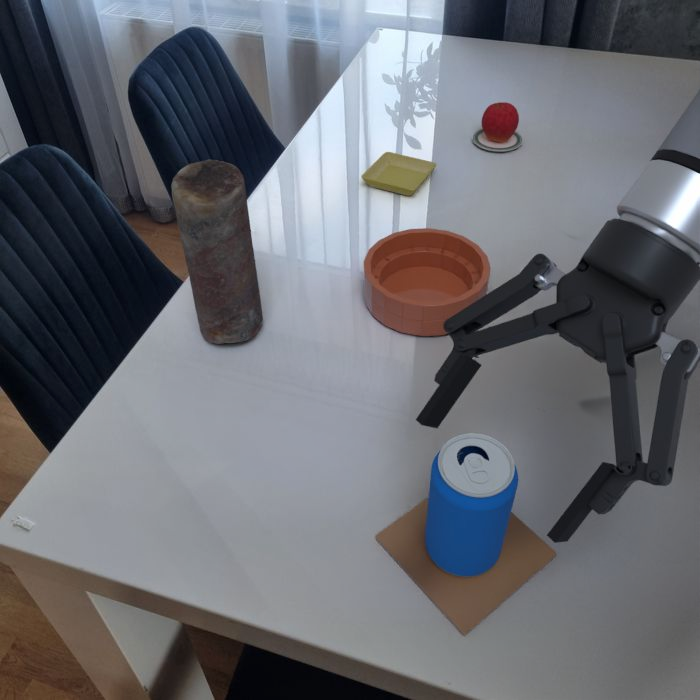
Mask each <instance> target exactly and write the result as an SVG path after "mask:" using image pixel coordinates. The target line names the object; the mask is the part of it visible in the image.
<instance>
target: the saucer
mask: <svg viewBox="0 0 700 700" xmlns="http://www.w3.org/2000/svg"><path fill="white" fill-rule="evenodd" d="M437 166H438V164H437V163H436V162H434V161H430V160H426V159H421V158H417V157H413V156H409V155H404V154H400V153H396V152H393V151H386V152H384V153H382V154H381V155H380V156H379V158H378V159H377V160H376V161H375V162H374V163H373V164H372V165H371V166H370V167H369V168H368V169H366V171H365V172H364V173H363V174H361V176H360V178H361V179H362V180H363V181H364V182H365V183H366V184H367V185H369V186H370V187H371V188H372V187H373V188H375V189H379V190H384V191H388V192H392V193H396V194H399V195H403V196H407V197H409V196H411V195H413V194H414V193H415V192H416V190H418V188H419V187H420V186H421V185H422V184H423V182H424V181H425V180H426V179H427V178H428V176H429V175H430V174H431V173H432V172H433V171H434V170H435V168H436V167H437Z"/></svg>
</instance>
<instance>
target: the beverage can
mask: <svg viewBox="0 0 700 700" xmlns="http://www.w3.org/2000/svg"><path fill="white" fill-rule="evenodd" d="M429 479H430V480H429V486H428V487H429V488H428V497H429V498H428V497H427V498H428V509H427V519H426V530H425V545H426V549H427V552H428V554H429V556H430V557H431V559H432V560H433V561H434V562H435V564H436V565H438V566H439V567H440V568H441V569H443V570H444V571H446V572H448V573H451V574H453V575H457V576H463V577H470V576H476V575H480V574H482V573H485V572H486V571H488V570H489V569H491V568H492V567H493V566H494V565H495V563H496V562H497V560H498V558H499V556H500V553H501V549H502V545H503V541H504V537H505V533H506V529H507V526H508V522H509V518H510V514H511V512H512V509H513V506H514V501H515V497H516V495H517V489H518V485H519V473H518V469H517V465H516V464H515V460H514V457H513V456H512V454H511V452H510V451H509V449H508V448H507V447H506V446H505V444H503V443H502V442H500V441H499V440H497V439H495V438H494V437H492V436H489V435H486V434H483V433H477V432H476V433H475V432H469V433H462V434H459V435H455V436H454V437H452V438H450V439H449V440H447V441H446V442H445V443H444V444H443V445H442V447H441V448H440V450H438V452H437V453H436V455H435V456H434V457H433V460H432V463H431V468H430V478H429Z"/></svg>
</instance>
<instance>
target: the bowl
mask: <svg viewBox="0 0 700 700" xmlns="http://www.w3.org/2000/svg"><path fill="white" fill-rule="evenodd" d="M488 257H489V256H487V254H486V253H485V251H484V250H483V248H481V246H480V245H479V244H477V243H475V242H474V241H472V240H471V239H469V238H467V237H466V236H464V235H462V234H459V233H455V232H454V231H450V230H445V229H439V228H430V227H425V228H424V227H423V228H408V229H405V230H400V231H396V232H393V233H391V234H389V235H387V236H384V237H383V238H380V239H379V240H377V241H376V242H375V243H374V244H373V245H372V246H371V247H370V248H369V249H368V251H367V253H366V255H365V257H364V260H363V295H364V303H365V305H366V307H367V309H368V311H369V312H370V314H371V315H372V317H374V318H375V319H376V320H377V321H378V322H379V323H381V324H382V325H383V326H385V327H388V328H390V329H392V330H395V331H397V332H399V333H402V334H408V335H413V336H419V337H433V336H434V337H437V336H444V335H449V334H448V333H447V332H446V331H445V330H444V328H443V325H444V322H445V321H446V320H447V319H449V318H450V317H452V316H453V315H455V314H457V313H458V312H460V311H461V310H463V309H464V308H466V307H468V306H469V305H471V304H472V303H474V302H476V301H477V300H479V299H480V298H482V297H483V296H485V295H487V294H488V290H489V289H488V288H489V281H490V275H491V264H490V261H489V258H488Z"/></svg>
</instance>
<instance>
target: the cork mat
mask: <svg viewBox="0 0 700 700" xmlns="http://www.w3.org/2000/svg"><path fill="white" fill-rule="evenodd" d="M428 498H429V496H428V497H426V498H425V499H424V500H422V501H421V502H420V503H419V504H417V505H416V506H414V507H413V508H411V510H409V511H407V512H406V513H405V514H404V515H402V516H401V517H399V518H398V519H396V520H395V521H394V522H392V524H390V525H388V526H387V527H386V528H384V529H383V530H382V531H380V532H379V533H377V534H376V535H375V540H376V541H377V543H378V544H379V545H380V546H381V547H382V548H383V549H384V551H385V552H386V553H388V555H389V556H390V557H391V559H393V560H394V561H395V563H396V564H397V565H398V566H399V567H400V569H402V570H403V571H404V573H406V575H407V576H408V577H409V578H410V579H411V580H412V581H413V582H414V584H415V585H416V586H417V587H418V588H419V589H420V590H421V591H422V592H423V593H424V595H425V596H427V598H428V599H429V600H430V601H431V602H432V603H433V605H435V607H436V608H437V609H438V610H439V611H440V612H441V613H442V615H444V616H445V618H446V619H447V620H448V621H449V622H450V623H451V624H452V625H453V626H454V627H455V629H456V630H457V631H458V632H459V633H460V634H461V635H462V636H463V637H466V636H467V635H468V634H469V633H470V632H471V631H473V629H475V628H476V627H477V626H478V625H479V624H481V623H482V622H483V621H484V620H485V619H486V618H487V617H489V616H490V615H491V614H492V613H493V612H494V611H495V610H497V608H500V606H501V605H502V604H503V603H505V602H506V601H507V600H509V598H510V597H511V596H513V595H514V594H515V593H516V592H517V591H518V590H519V589H521V588H522V587H523V586H524V585H525V584H526V583H528V582H529V581H530V580H531V579H532V578H533V577H534V576H535V575H537V574H538V573H539V572H540V571H542V569H544V568H545V567H546V566H547V565H548V564H549V563H551V562H552V561H553V560H554V559H555V558H556V557H557V554H558V553H557V551H555V549H553V548H552V547H551V546H550V545H549V544H548V543H547V542H545V541H544V540H543V539H542V538H541V537H540V536H539V535H537V533H536V532H534V531H533V529H531V528H530V527H528V525H527V524H526V523H524V521H522V519H520V518H519V517H518V516H517V515H516V514H515V513H513V512H512V511H511V514H510V518H509V522H508V526H507V529H506V533H505V537H504V541H503V545H502V549H501V553H500V556H499V558H498V560H497V562H496V563H495V565H494V566H493V567H492V568H491V569H489V570H488V571H486V572H485V573H482V574H480V575H476V576H470V577H463V576H457V575H453V574H451V573H448V572H446V571H444V570H443V569H441V568H440V567H439V566H438V565H436V564H435V562H434V561H433V560H432V559H431V557H430V556H429V554H428V552H427V549H426V545H425V530H426V519H427V509H428Z"/></svg>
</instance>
